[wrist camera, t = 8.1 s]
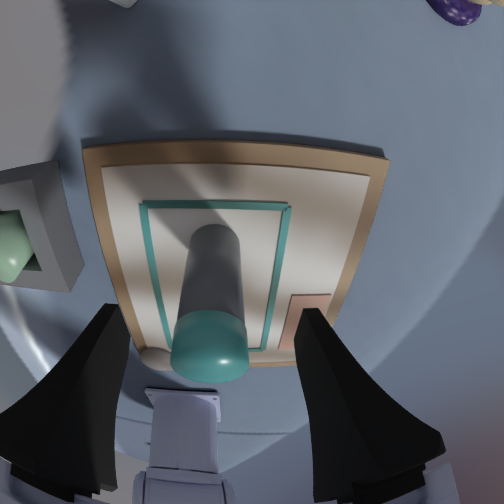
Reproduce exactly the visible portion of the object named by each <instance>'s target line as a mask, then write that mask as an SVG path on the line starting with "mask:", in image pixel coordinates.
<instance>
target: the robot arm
mask: <svg viewBox="0 0 504 504" xmlns="http://www.w3.org/2000/svg"><path fill="white" fill-rule="evenodd" d="M129 344H130V333H129V331H128V328H127V326H126V323H125V321H124V318H123V315H122V313H121V310H120V307H119V305H118V304H107V303H105V304H104V305H103V306H102V308H101V309H100V310H99V311H98V313H97V314H96V315H95V316H94V318H93V319H92V320H91V322H90V323H89V324H88V326H87V327H86V328H85V329H84V331H83V332H82V333H81V335H80V336H79V337H78V338H77V340H76V341H75V342H74V344H73V345H72V346H71V347H70V348H69V350H68V351H67V352H66V353H65V354H64V356H63V357H62V358H61V359H60V361H59V362H58V363H57V364H56V365H55V366H54V367H53V368H52V370H51V371H50V372H49V373H48V374H47V375H46V376H45V377H44V378H43V379H42V380H41V381H40V382H39V383H38V384H37V385H36V386H35V387H34V388H33V389H31V390H30V391H29V392H28V393H27V394H26V395H25V396H24V397H22V398H21V399H20V400H18V401H17V402H16V403H15V404H13V405H12V406H11V407H9V408H8V409H7V410H5V411H4V412H2V413H0V456H1V457H3V458H4V459H6V460H8V461H10V462H11V463H12V464H11V463H9V462H7V461H5V460H3V459H2V458H0V504H109V503H105V502H102V501H98V500H95V499H92V493H94V494H98V495H100V489H103V490H106V491H110V492H112V491H114V490H116V489H117V488H118V487H117V480H116V470H115V451H114V440H115V418H116V409H117V403H118V398H119V393H120V389H121V384H122V380H123V376H124V372H125V367H126V363H127V359H128V352H129ZM294 348H295V357H296V363H297V368H298V372H299V376H300V380H301V385H302V389H303V393H304V397H305V401H306V405H307V410H308V415H309V423H310V432H311V443H312V456H313V496H314V502H315V503H318V502H326V501H332V500H336V499H337V504H460V502H459V497H458V493H457V488H456V484H455V480H454V476H453V472H452V469H451V465H450V463H447V464H444V465H442V466H440V467H438V468H436V469H434V470H432V471H429V472H427V473H423V472H422V471H423V470H425V469H426V467H425V463H426V462H428V461H430V460H432V459H434V458H436V457H438V456H440V455H442V454H444V453H445V452H446V449H445V445H444V442H443V439H442V436H441V434H440V432H438V431H437V430H435V429H433V428H432V427H430V426H428V425H427V424H425V423H423V422H422V421H420V420H419V419H418V418H416V417H415V416H413V415H412V414H411V413H409V412H408V411H407V410H406V409H404V408H403V407H402V406H401V405H399V404H398V403H397V402H396V401H395V400H393V399H392V398H391V397H390V396H389V395H388V394H387V393H386V392H385V391H384V390H383V389H382V388H381V387H380V386H379V385H378V384H377V383H376V382H375V381H374V380H373V379H372V378H371V377H370V376H369V375H368V374H367V372H366V371H365V370H364V369H363V368H362V367H361V365H360V364H359V363H358V362H357V361H356V359H355V358H354V357H353V356H352V354H351V353H350V352H349V350H348V349H347V348H346V346H345V345H344V344H343V342H342V341H341V340H340V338H339V337H338V336H337V334H336V333H335V331H334V330H333V328H332V327H331V326H330V324H329V323H328V321H327V320H326V318H325V317H324V315H323V314H322V312H321V311H320V309H319V308H303V310H302V314H301V317H300V320H299V323H298V327H297V330H296V333H295V336H294ZM145 393H146V395H147V397H148V398H149V400H150V402H151V403H152V405H153V406H154V411H153V421H152V432H151V444H150V458H149V467H147V468H146V472H145V471H140V473H138V474H137V475H136V476H135V479H134V484H133V496H132V500H133V501H132V502H133V504H236V498H235V492H234V489H233V486H232V485H231V484H230V483H229V482H228V480H226V479H222V475H221V474H218V456H217V422H220V421H221V412H220V397H219V393H216V392H191V391H175V390H162V389H152V388H146V389H145Z"/></svg>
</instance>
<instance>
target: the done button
mask: <svg viewBox="0 0 504 504" xmlns="http://www.w3.org/2000/svg"><path fill="white" fill-rule="evenodd" d="M33 253H34V250H33V248H32V245H31V242H30V240H29V237H28V234H27V231H26V228H25V225H24V222H23V219H22V216H21V213H20V210H8V211H1V212H0V281H2V282H6V283H11V282H13V281H15V279H16V278H17V276H18V275H19V273H20V272H21V270H22V269H23V267H24V266H25V265H26V263H27V262H28V260H29V259H30V258H31V256H32V255H33Z"/></svg>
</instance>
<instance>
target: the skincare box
mask: <svg viewBox="0 0 504 504" xmlns="http://www.w3.org/2000/svg"><path fill="white" fill-rule="evenodd" d="M109 1H112V2H114V3H116V4H118V5H120V6H122V7H124V8H129V7H131V6H132V5H133V4H134V3H135V2H136V1H137V0H109Z"/></svg>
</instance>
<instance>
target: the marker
mask: <svg viewBox="0 0 504 504" xmlns="http://www.w3.org/2000/svg"><path fill="white" fill-rule="evenodd" d="M170 365H171V367H172V368H173V370H174V371H175V372H177V373H178V374H179V375H181V376H183V377H185V378H187V379H190V380H193V381H198V382H204V383H222V382H228V381H232V380H235V379H237V378H239V377H241V376H243V375H244V374H245V373H246V372H247V371H248V369H249V351H248V338H247V329H246V327H245V315H244V301H243V286H242V270H241V255H240V242H239V238H238V236H237V235H236V233H235V232H234V231H233V230H231V229H230V228H228V227H226V226H224V225H220V224H208V225H205V226H202V227H200V228H199V229H197V230H196V231H195V232H194V233H193V235H192V237H191V239H190V244H189V250H188V255H187V260H186V266H185V272H184V277H183V283H182V289H181V295H180V302H179V308H178V315H177V322H176V324H175V326H174V333H173V341H172V348H171V356H170Z"/></svg>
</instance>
